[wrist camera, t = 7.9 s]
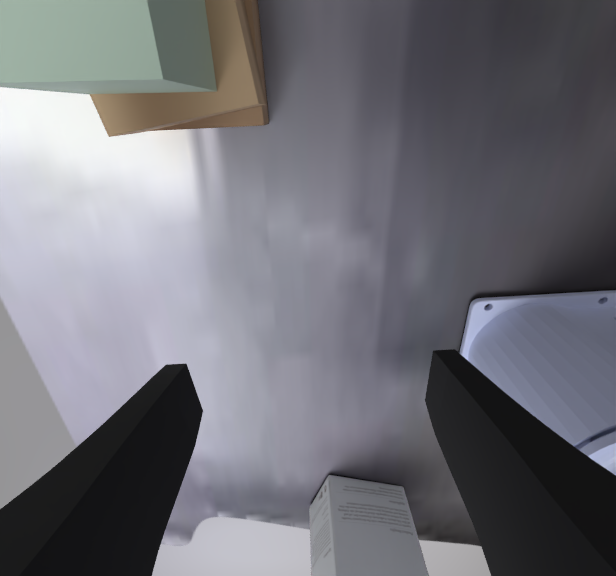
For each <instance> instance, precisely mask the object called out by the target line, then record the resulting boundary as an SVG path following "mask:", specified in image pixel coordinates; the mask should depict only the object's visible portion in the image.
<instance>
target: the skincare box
mask: <svg viewBox="0 0 616 576" xmlns="http://www.w3.org/2000/svg"><path fill="white" fill-rule="evenodd" d="M309 513H310V541H311V543H310V544H311V576H429V575H428V571H427V568H426V565H425V561H424V558H423V554H422V550H421V547H420V544H419V540H418V536H417V533H416V529H415V526H414V522H413V519H412V515H411V512H410V508H409V505H408V501H407V498H406V494H405V491H404V487H403V486H397V485H391V484H384V483H378V482H372V481H365V480H359V479H352V478H346V477H340V476H334V475H329V476H328V477H327V479H326V480H325V482H324V484H323V485H322V487H321V489H320V491H319V492H318V494H317V496H316V498H315V499H314V501H313V503H312V504H311V506H310V508H309Z"/></svg>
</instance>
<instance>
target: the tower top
mask: <svg viewBox="0 0 616 576" xmlns="http://www.w3.org/2000/svg"><path fill="white" fill-rule="evenodd" d="M205 6H206V14H207V21H208V28H209V36H210V43H211V50H212V58H213V65H214V73H215V80H216V87H217V92H170V93H123V94H90V96H91V98H92V100H93V103H94V105H95V107H96V109H97V111H98V114H99V116H100V118H101V120H102V122H103V125H104V127H105V129H106V131H107V134H108V136H109V137H111V136H118V135H126V134H133V133H141V132H145V131H150V130H154V129H159V128H163V127H168V126H173V125H177V124H182V123H186V122H191V121H195V120H200V119H204V118H209V117H213V116H218V115H223V114H227V113H232V112H236V111H241V110H245V109H250V108H254V107H259V106H264V105H267V103H266V99H265V94H264V89H263V85H262V80H261V76H260V71H259V67H258V62H257V57H256V53H255V48H254V44H253V39H252V34H251V30H250V25H249V21H248V16H247V11H246V7H245V2H244V0H205Z"/></svg>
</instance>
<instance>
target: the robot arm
mask: <svg viewBox="0 0 616 576" xmlns="http://www.w3.org/2000/svg"><path fill="white" fill-rule="evenodd" d="M487 304H489V306H487V307H485V306H486V305H487ZM425 402H426V405H427V409H428V412H429V416H430V419H431V422H432V426H433V429H434V432H435V435H436V438H437V440H438V443H439V445H440V447H441V450H442V452H443V454H444V457H445V459H446V462H447V464H448V466H449V469H450V471H451V473H452V476H453V478H454V480H455V483H456V485H457V487H458V490H459V492H460V494H461V497H462V499H463V501H464V504H465V506H466V508H467V511H468V513H469V515H470V518H471V520H472V522H473V525H474V528H475V530H476V533H477V535H478V538H479V540H480V543H481V546H482V549H483V552H484V555H485V558H486V561H487V564H488V567H489V570H490V573H491V576H616V290H610V291H593V292H576V293H559V294H542V295H525V296H508V297H491V298H478V299H475V300H473V301H472V302H471V304H470V307H469V312H468V316H467V321H466V325H465V330H464V334H463V339H462V344H461V348H460V353H458V352H457V351H456V350H455V349H454V350H435V351H433V355H432V361H431V367H430V373H429V379H428V385H427V392H426V398H425ZM202 412H203V410H202V407H201V404H200V401H199V398H198V395H197V393H196V390H195V387H194V384H193V381H192V378H191V376H190V373H189V370H188V367H187V364H172V365H165V366H164V367H163V368H162V369H161V370H160V371H159V372H158V373H157V374H156V375H154V376H153V377H152V378H151V379H150V380H149V381H148V382H147V383H146V384H145V385H144V386H143V387H142V388H141V389H140V390H139V391H138V392H137V393H136V394H135V395H133V396H132V397H131V398H130V399H129V400H128V401H127V402H126V403H125V404H124V405H123V406H122V407H121V408H120V409H119V410H118V411H116V412H115V413H114V414H113V415H112V416H111V417H110V418H109V419H108V420H107V421H106V422H105V423H104V424H103V425H102V426H100V427H99V428H98V429H97V430H96V431H95V432H94V433H92V434H91V435H90V436H89V437H88V438H87V439H86V440H84V441H83V442H82V443H81V444H80V445H79V446H78V447H76V448H75V449H74V450H73V451H72V452H71V453H70V454H68V455H67V456H66V457H65V458H64V459H63V460H62V461H61V462H59V463H58V464H57V465H56V466H55V467H53V468H52V469H51V470H50V471H49V472H47V473H46V474H45V475H44V476H42V477H41V478H40V479H39V480H38V481H36V482H35V483H34V484H33V485H31V486H30V487H29V488H27V489H26V490H25V491H23V492H22V493H21V494H20V495H18V496H17V497H16V498H14V499H13V500H12V501H11V502H9V503H8V504H7V505H5V506H4V507H3V508H1V509H0V576H152V572H153V568H154V565H155V561H156V557H157V554H158V550H159V547H160V544H161V541H162V538H163V535H164V531H165V529H166V526H167V523H168V520H169V518H170V515H171V512H172V509H173V506H174V504H175V501H176V498H177V495H178V492H179V490H180V487H181V484H182V481H183V478H184V476H185V473H186V470H187V467H188V464H189V461H190V459H191V456H192V453H193V450H194V447H195V443H196V439H197V435H198V431H199V427H200V422H201V417H202Z"/></svg>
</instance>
